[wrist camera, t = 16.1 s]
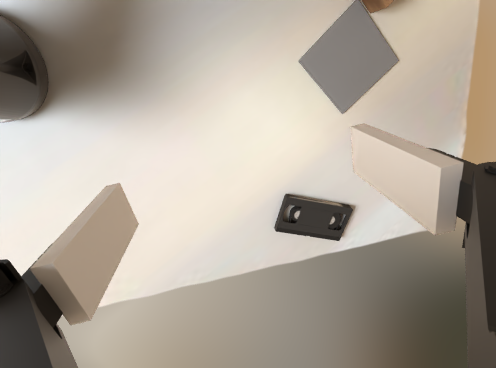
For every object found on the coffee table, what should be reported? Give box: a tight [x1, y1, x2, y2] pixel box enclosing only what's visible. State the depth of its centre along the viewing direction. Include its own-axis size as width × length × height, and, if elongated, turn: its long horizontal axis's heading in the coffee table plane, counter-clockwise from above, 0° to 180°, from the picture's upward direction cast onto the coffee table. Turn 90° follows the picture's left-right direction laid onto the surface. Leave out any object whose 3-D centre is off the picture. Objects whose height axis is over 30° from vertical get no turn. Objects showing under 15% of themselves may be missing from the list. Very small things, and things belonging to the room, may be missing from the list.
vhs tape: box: [274, 194, 353, 241], centre depth 55 cm, size 14×8×2 cm, turn 76°
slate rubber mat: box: [299, 0, 399, 114], centre depth 44 cm, size 12×12×1 cm
